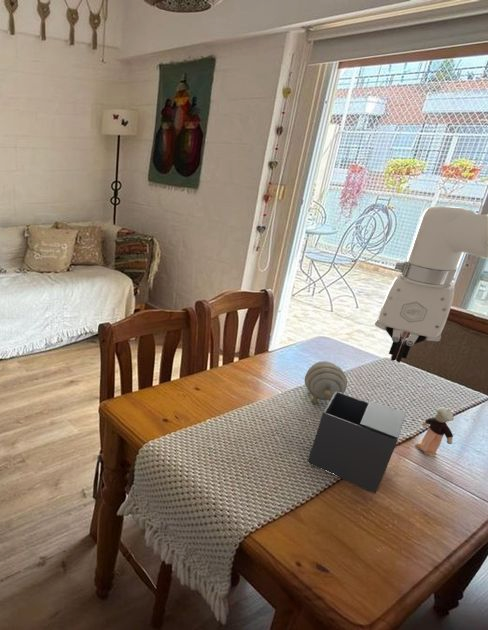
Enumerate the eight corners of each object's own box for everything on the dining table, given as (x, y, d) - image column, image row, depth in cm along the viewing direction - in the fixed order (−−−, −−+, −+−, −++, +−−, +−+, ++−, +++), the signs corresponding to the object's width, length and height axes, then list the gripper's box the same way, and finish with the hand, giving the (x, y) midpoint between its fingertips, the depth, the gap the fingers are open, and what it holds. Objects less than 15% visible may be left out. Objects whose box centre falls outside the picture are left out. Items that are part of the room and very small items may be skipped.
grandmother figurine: (406, 443, 110) (424, 401, 105) (417, 440, 111) (435, 398, 106) (438, 464, 104) (458, 420, 99) (449, 461, 105) (470, 417, 100)
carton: (384, 465, 103) (405, 415, 97) (375, 494, 95) (397, 440, 89) (320, 439, 111) (335, 391, 105) (307, 463, 103) (322, 412, 97)
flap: (405, 413, 97) (405, 412, 97) (397, 438, 89) (398, 437, 89) (369, 401, 101) (370, 400, 101) (359, 424, 93) (359, 423, 93)
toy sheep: (335, 387, 133) (345, 355, 129) (347, 419, 119) (359, 385, 114) (297, 381, 136) (305, 349, 132) (304, 411, 122) (314, 377, 117)
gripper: (377, 269, 85) (350, 353, 92) (479, 288, 76) (440, 379, 83) (384, 261, 90) (358, 341, 97) (479, 278, 81) (443, 365, 88)
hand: (396, 358), depth 90 cm, fingers closed
